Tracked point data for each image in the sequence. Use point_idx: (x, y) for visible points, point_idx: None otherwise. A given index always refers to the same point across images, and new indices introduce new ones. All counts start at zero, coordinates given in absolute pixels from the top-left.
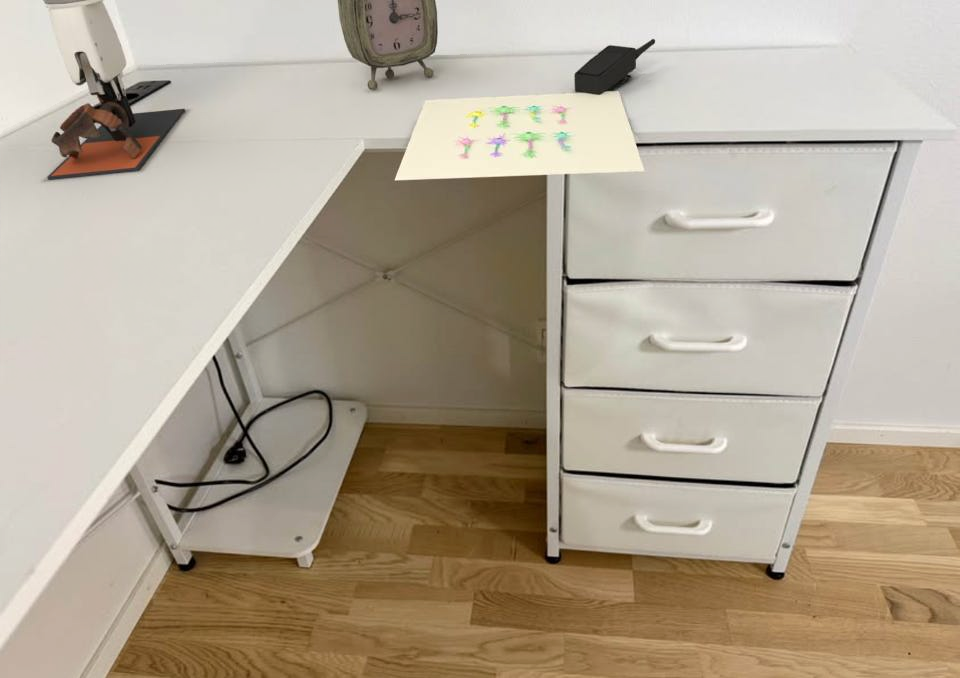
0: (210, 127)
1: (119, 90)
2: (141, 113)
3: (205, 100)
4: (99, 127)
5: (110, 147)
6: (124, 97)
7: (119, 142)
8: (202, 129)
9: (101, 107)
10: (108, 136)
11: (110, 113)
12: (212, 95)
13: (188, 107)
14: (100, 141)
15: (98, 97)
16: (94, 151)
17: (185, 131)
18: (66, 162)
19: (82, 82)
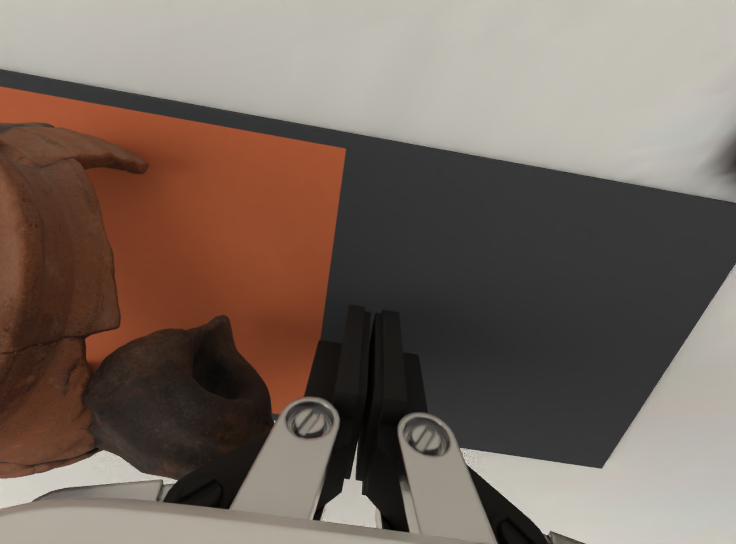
0: (358, 513)
1: (382, 521)
2: (671, 341)
3: (680, 505)
4: (582, 182)
5: (238, 275)
6: (364, 491)
7: (291, 300)
8: (350, 498)
9: (129, 430)
10: (399, 246)
11: (3, 476)
12: (726, 520)
13: (637, 466)
14: (339, 222)
15: (273, 430)
16: (204, 218)
17: (354, 464)
18: (84, 110)
19: (209, 509)
